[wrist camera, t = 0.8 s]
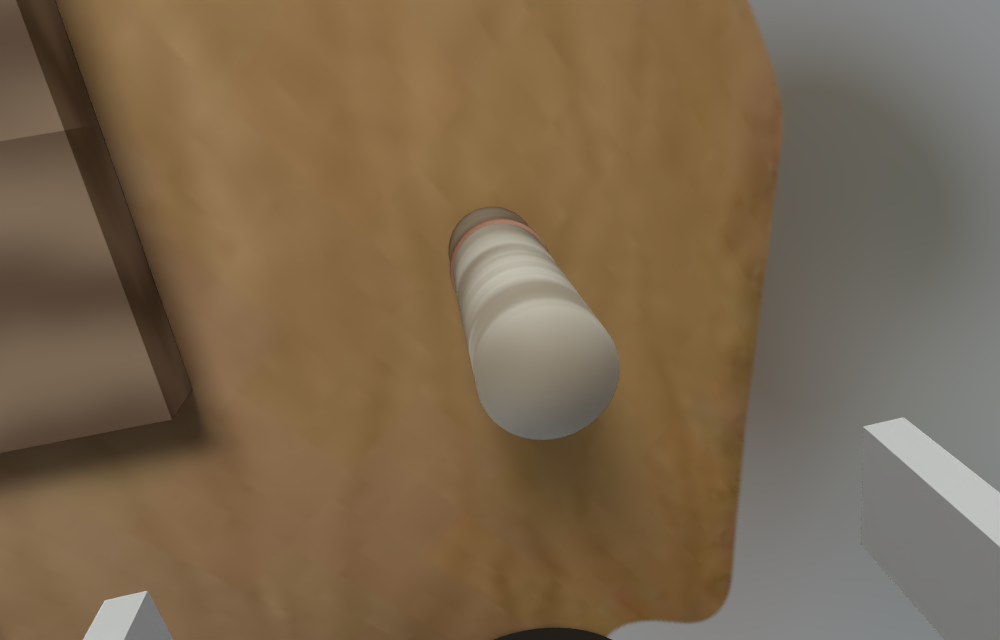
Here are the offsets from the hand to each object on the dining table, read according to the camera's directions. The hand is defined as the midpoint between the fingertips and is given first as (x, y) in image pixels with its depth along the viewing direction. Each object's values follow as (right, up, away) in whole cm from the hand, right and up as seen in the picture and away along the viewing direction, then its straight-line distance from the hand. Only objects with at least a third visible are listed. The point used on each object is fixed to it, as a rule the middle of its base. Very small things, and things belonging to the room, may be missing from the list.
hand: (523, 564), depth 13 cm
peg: (-1, +8, +19) cm, 21 cm away
